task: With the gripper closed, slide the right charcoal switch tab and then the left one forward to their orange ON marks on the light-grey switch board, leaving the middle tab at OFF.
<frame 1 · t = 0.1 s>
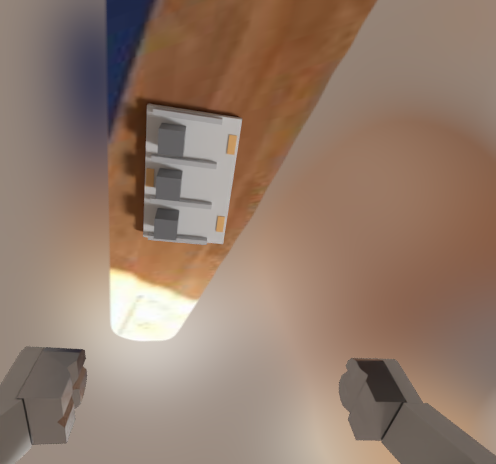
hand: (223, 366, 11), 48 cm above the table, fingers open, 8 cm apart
tab middle: (169, 184, 53), point 4 cm above the table, slide at 0.0 cm
switch board: (189, 179, 57), on the table
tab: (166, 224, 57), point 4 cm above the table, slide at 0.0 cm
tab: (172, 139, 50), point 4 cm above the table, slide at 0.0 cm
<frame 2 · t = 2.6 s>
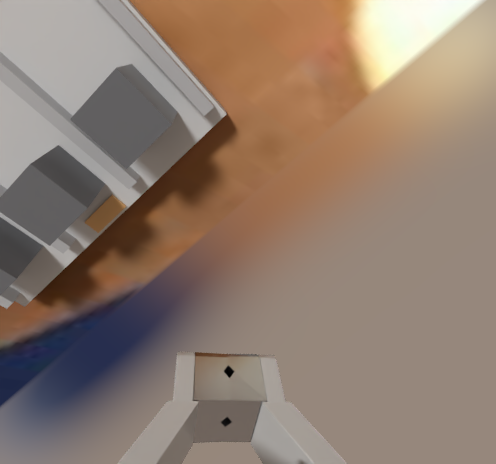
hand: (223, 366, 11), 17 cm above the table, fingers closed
tab middle: (54, 194, 21), point 4 cm above the table, slide at 0.0 cm
switch board: (34, 144, 23), on the table
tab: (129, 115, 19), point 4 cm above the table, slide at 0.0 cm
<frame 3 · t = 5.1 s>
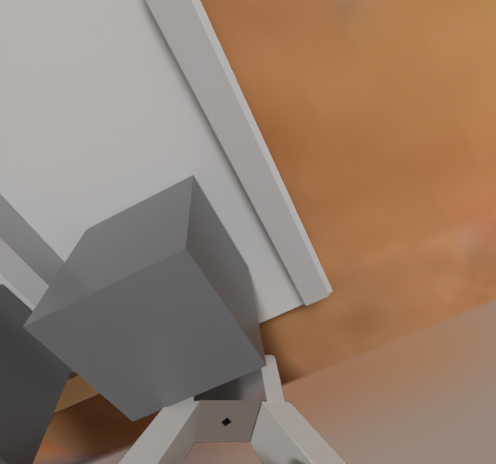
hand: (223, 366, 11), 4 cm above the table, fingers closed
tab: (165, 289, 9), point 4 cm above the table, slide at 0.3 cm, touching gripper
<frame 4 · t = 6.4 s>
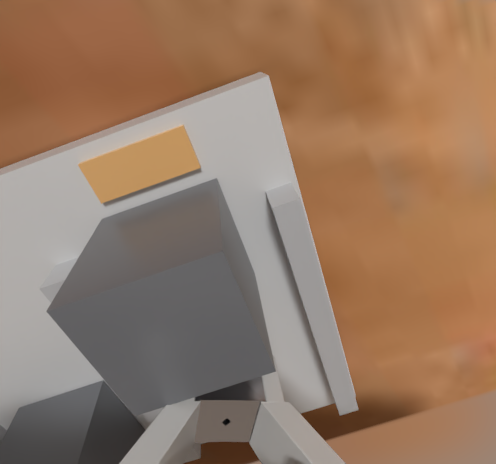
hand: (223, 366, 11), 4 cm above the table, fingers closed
switch board: (57, 343, 14), on the table
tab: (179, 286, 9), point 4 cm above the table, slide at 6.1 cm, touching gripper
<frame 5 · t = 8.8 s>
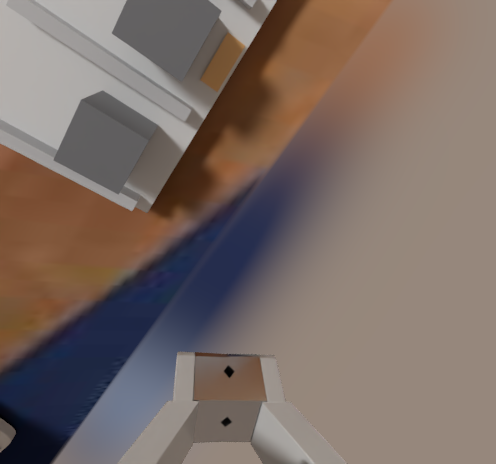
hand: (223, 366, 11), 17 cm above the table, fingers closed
tab middle: (170, 24, 17), point 4 cm above the table, slide at 0.0 cm
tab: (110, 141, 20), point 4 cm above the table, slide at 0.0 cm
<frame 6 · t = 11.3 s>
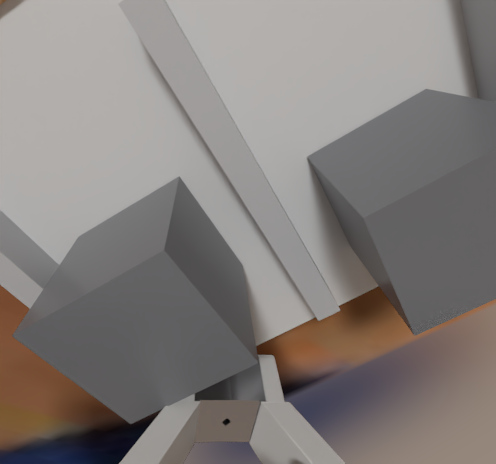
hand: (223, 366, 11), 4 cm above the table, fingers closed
tab middle: (420, 203, 9), point 4 cm above the table, slide at 0.0 cm
switch board: (330, 78, 10), on the table
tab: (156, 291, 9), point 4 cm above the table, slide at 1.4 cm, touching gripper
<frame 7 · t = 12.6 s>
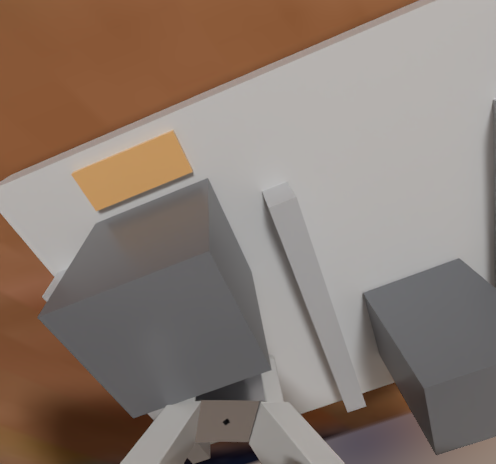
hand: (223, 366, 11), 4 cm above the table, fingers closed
tab middle: (448, 350, 11), point 4 cm above the table, slide at 0.0 cm
switch board: (385, 228, 13), on the table
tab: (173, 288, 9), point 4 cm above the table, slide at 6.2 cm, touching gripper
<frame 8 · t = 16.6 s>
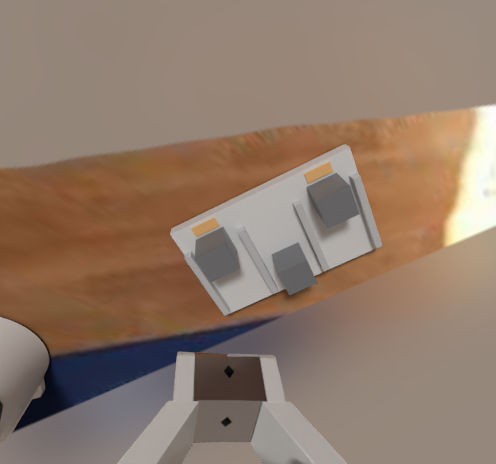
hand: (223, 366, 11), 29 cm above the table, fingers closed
tab middle: (294, 268, 41), point 4 cm above the table, slide at 0.0 cm
switch board: (278, 234, 42), on the table
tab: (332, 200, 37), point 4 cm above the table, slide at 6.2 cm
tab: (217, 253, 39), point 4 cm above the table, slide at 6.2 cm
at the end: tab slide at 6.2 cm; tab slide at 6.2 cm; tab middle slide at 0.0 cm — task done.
